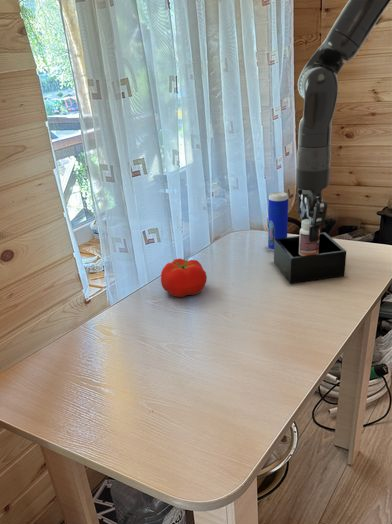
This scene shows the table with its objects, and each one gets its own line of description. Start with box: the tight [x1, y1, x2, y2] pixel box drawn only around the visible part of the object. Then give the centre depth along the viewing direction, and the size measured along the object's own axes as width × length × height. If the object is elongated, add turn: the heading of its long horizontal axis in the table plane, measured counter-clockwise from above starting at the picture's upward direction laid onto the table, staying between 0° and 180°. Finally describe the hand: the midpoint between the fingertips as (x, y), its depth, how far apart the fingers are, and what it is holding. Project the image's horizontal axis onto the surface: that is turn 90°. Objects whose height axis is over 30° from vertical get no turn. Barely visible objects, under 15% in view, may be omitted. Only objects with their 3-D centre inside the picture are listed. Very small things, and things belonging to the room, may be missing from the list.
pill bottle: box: [299, 219, 321, 256], centre depth 125 cm, size 5×5×8 cm
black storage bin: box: [273, 231, 347, 285], centre depth 128 cm, size 14×14×7 cm
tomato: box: [160, 258, 208, 298], centre depth 122 cm, size 11×11×8 cm
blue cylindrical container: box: [267, 191, 289, 252], centre depth 139 cm, size 5×5×15 cm
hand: (309, 237), depth 125 cm, fingers closed on pill bottle, 4 cm apart
